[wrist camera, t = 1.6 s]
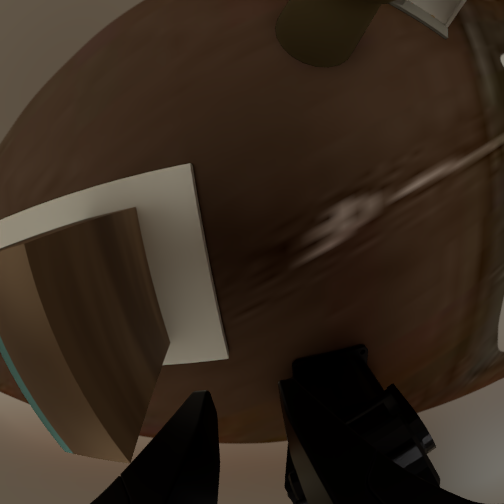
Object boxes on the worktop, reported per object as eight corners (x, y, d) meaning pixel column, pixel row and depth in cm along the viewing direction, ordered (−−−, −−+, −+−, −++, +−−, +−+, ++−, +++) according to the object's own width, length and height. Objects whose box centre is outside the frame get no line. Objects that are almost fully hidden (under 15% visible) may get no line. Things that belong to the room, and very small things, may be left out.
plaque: (135, 206, 17) (24, 243, 6) (170, 342, 20) (130, 463, 9) (86, 218, 17) (-33, 261, 6) (123, 346, 19) (64, 451, 9)
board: (192, 164, 18) (190, 163, 17) (228, 351, 21) (228, 358, 20) (-17, 228, 17) (-23, 230, 16) (27, 358, 21) (22, 363, 20)
